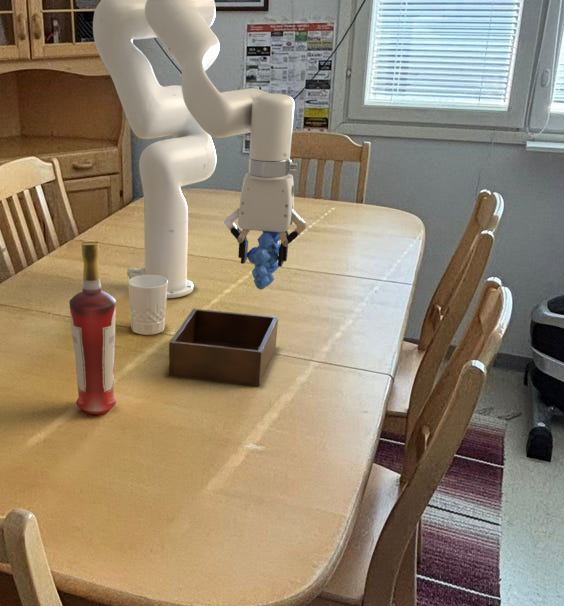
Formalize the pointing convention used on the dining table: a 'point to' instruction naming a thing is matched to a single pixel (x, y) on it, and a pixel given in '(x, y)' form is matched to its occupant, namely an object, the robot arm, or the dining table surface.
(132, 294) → the white cup
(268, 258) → the grapes
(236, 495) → the dining table surface
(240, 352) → the brown wooden box
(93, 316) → the liquor
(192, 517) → the dining table surface
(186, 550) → the dining table surface
